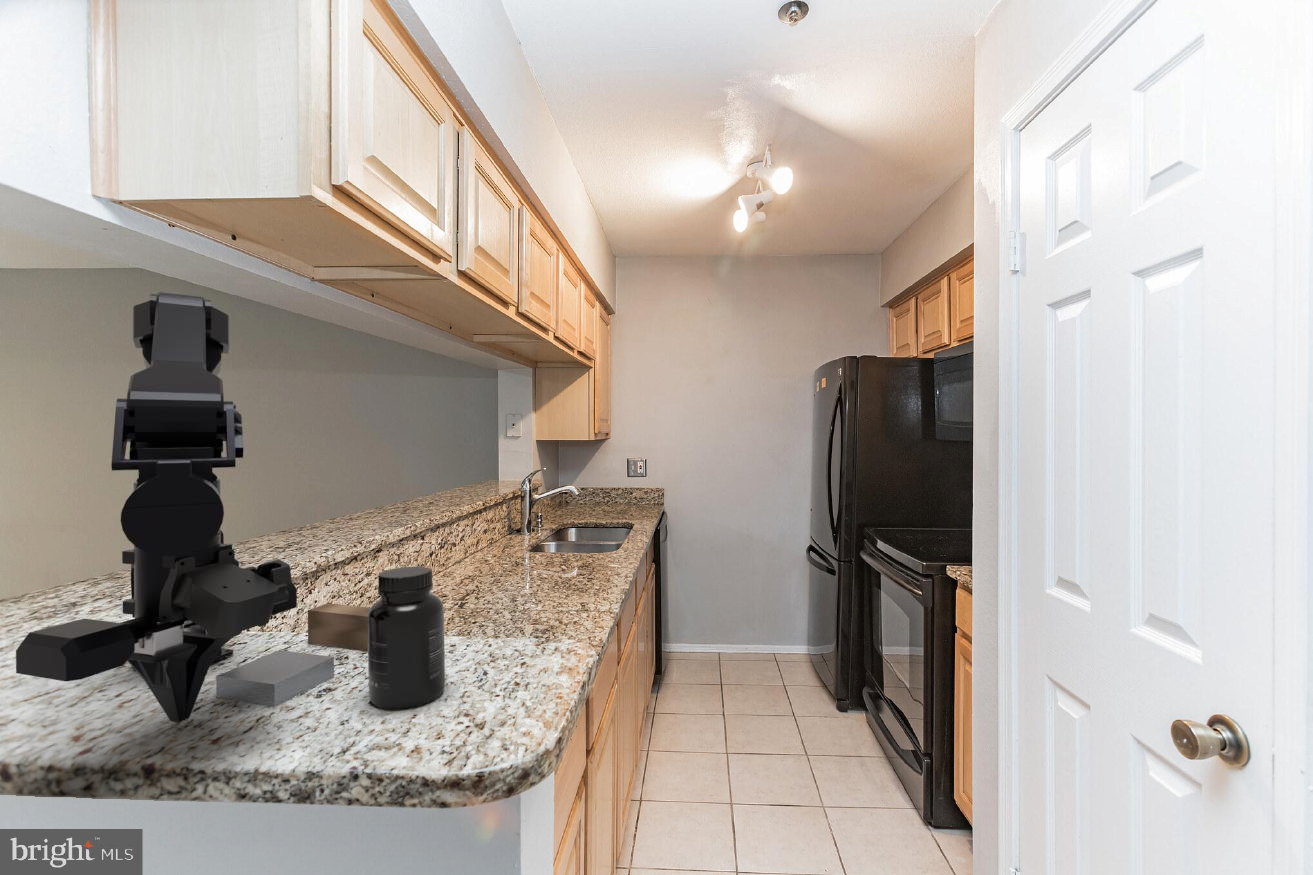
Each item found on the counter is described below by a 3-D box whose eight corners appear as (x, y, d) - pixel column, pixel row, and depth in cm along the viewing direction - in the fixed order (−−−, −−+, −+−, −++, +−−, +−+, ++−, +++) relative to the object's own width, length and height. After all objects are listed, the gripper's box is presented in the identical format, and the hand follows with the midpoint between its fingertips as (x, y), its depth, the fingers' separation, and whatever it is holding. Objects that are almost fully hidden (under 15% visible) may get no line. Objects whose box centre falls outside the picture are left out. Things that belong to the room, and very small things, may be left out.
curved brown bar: (307, 643, 72) (307, 610, 72) (327, 635, 75) (327, 603, 75) (407, 655, 68) (407, 620, 68) (424, 646, 71) (424, 612, 71)
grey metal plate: (216, 701, 58) (216, 675, 58) (280, 673, 64) (279, 649, 64) (274, 711, 56) (274, 684, 56) (334, 680, 63) (333, 656, 62)
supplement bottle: (421, 674, 63) (421, 560, 63) (458, 693, 59) (458, 570, 59) (354, 697, 58) (354, 572, 58) (389, 719, 54) (389, 584, 53)
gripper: (124, 566, 40) (125, 802, 40) (343, 523, 58) (343, 686, 58) (9, 555, 43) (11, 775, 43) (251, 518, 61) (252, 673, 61)
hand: (179, 720), depth 51 cm, fingers closed
